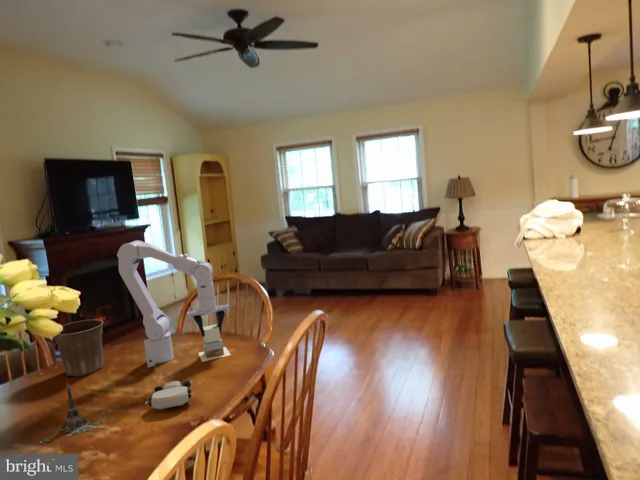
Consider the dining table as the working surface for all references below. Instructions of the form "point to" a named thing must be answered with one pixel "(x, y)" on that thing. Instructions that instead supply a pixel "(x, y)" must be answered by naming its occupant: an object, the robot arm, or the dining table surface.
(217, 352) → the walnut slab
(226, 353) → the cream board
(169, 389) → the robot toy
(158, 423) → the dining table surface
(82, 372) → the plant pot
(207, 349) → the light grey flat block
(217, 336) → the sage block
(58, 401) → the dining table surface
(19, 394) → the dining table surface
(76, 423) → the eiffel tower figurine
